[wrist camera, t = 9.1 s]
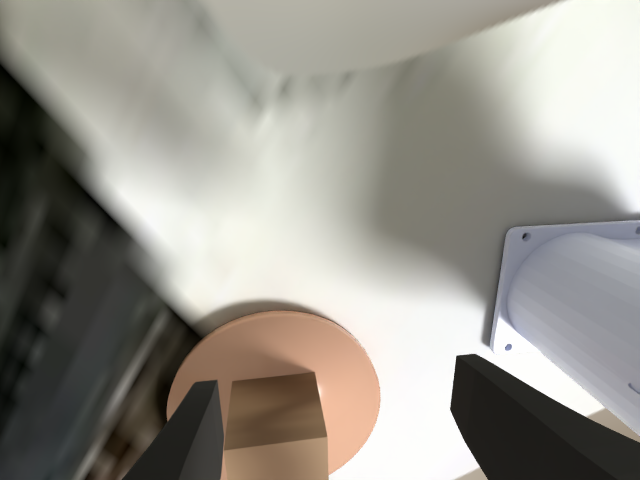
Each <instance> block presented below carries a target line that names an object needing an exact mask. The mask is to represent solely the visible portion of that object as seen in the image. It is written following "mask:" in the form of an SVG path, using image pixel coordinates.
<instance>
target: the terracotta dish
mask: <svg viewBox="0 0 640 480" xmlns="http://www.w3.org/2000/svg"><path fill="white" fill-rule="evenodd" d="M311 372H315V375H316V380H317V385H318V390H319V396H320V401H321V406H322V411H323V416H324V421H325V426H326V431H327V436H328V475H330V474H331V473H333V472H334V471H336V470H337V469H339V468H341V467H342V466H343V465H344V464H346V463H347V462H348V461H349V460H350V459H351V458H352V457H353V456H354V455H355V454H356V453H357V452H358V451H359V450H360V449H361V447H362V446H363V445H364V444H365V442H366V441H367V439H368V437H369V436H370V434H371V432H372V430H373V428H374V426H375V423H376V421H377V417H378V413H379V408H380V387H379V382H378V377H377V375H376V372H375V369H374V367H373V364H372V362H371V360H370V358H369V356H368V354H367V353H366V351H365V349H364V348H363V347H362V346H361V344H360V343H359V342H358V340H356V339H355V338H354V337H353V336H352V335H351V334H350V333H349V332H348V331H346V330H345V329H343V328H342V327H340V326H339V325H337V324H335V323H333V322H331V321H329V320H327V319H325V318H322V317H319V316H316V315H313V314H308V313H304V312H297V311H287V310H285V311H267V312H259V313H255V314H251V315H247V316H243V317H240V318H238V319H235V320H233V321H230V322H228V323H226V324H224V325H222V326H220V327H218V328H217V329H215V330H214V331H212V332H211V333H209V334H208V335H207V336H205V337H204V338H203V339H202V340H201V341H199V342H198V343H197V344H196V345H195V346H194V347H193V348H192V350H191V351H190V352H189V353H188V354H187V356H186V357H185V359H184V360H183V362H182V363H181V365H180V367H179V369H178V371H177V373H176V376H175V378H174V381H173V383H172V386H171V389H170V393H169V397H168V402H167V422H168V420H169V419H170V418H171V416H172V415H173V413H174V412H175V410H176V409H177V407H178V406H179V404H180V403H181V402H182V400H183V399H184V397H185V395H186V394H187V392H188V391H189V389H190V388H191V386H192V385H193V384H194V383H195V382H199V381H209V380H218V388H219V397H220V405H221V414H222V422H223V431H224V443H225V435H226V427H227V419H228V411H229V403H230V395H231V387H232V381H237V380H247V379H256V378H265V377H274V376H283V375H292V374H301V373H311ZM220 480H227V473H226V465H225V458H224V446H223V460H222V472H221V479H220Z"/></svg>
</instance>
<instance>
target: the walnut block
mask: <svg viewBox="0 0 640 480" xmlns="http://www.w3.org/2000/svg"><path fill="white" fill-rule="evenodd" d="M224 458H225V465H226V473H227V480H328V436H327V431H326V426H325V421H324V416H323V411H322V406H321V401H320V396H319V390H318V385H317V380H316V375H315V372H311V373H301V374H292V375H283V376H274V377H265V378H256V379H247V380H237V381H232V387H231V395H230V403H229V411H228V419H227V427H226V435H225V443H224Z"/></svg>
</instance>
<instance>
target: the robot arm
mask: <svg viewBox="0 0 640 480" xmlns="http://www.w3.org/2000/svg"><path fill="white" fill-rule="evenodd" d="M636 228H637V230H636ZM635 230H636V231H635ZM524 233H526V237H525V238H524V239H522V236H523V234H524ZM506 344H508V345H507V346H506V347H505V345H506ZM490 349H491V351H492V352H493V353H495V354H497V355H501V354H510V353H520V352H530V351H540V352H541V353H542V354H543V355H544V356H546V357H547V358H548V359H549V360H550V361H552V362H553V363H554V364H555V365H556V366H557V367H559V368H560V369H561V370H562V371H563V372H565V373H566V374H567V375H568V376H569V377H570V378H572V379H573V380H574V381H575V382H576V383H577V384H579V385H580V386H581V387H582V388H583V389H585V390H586V391H587V392H588V393H589V394H590V395H592V396H593V397H594V398H595V399H596V400H598V401H599V402H600V403H601V404H602V405H603V406H605V407H606V408H607V409H608V410H609V411H610V412H612V413H613V414H614V415H615V416H616V417H618V418H619V419H620V420H621V421H622V422H623V423H625V424H626V425H627V426H628V427H629V428H631V429H632V430H633V431H634V432H635V433H636V434H638V435H639V436H640V220H630V221H612V222H594V223H576V224H558V225H539V226H521V227H513V228H511V229H509V231H508V232H507V234H506V238H505V245H504V252H503V258H502V265H501V272H500V279H499V286H498V292H497V299H496V306H495V313H494V319H493V326H492V333H491V340H490ZM450 410H451V413H452V415H453V417H454V419H455V422H456V424H457V426H458V428H459V430H460V432H461V434H462V437H463V439H464V441H465V443H466V444H467V446H468V448H469V449H470V451H471V453H472V454H473V456H474V458H475V459H476V461H477V462H478V464H479V466H480V467H481V469H482V471H483V472H484V474H485V475H486V477H487V479H488V480H640V443H639V442H637V441H635V440H633V439H630V438H628V437H626V436H624V435H622V434H620V433H617V432H615V431H613V430H611V429H609V428H607V427H605V426H603V425H601V424H599V423H596V422H594V421H592V420H590V419H588V418H587V417H585V416H583V415H581V414H579V413H577V412H575V411H574V410H572V409H570V408H568V407H566V406H564V405H562V404H561V403H559V402H557V401H555V400H553V399H552V398H550V397H548V396H546V395H545V394H543V393H541V392H539V391H538V390H536V389H534V388H533V387H531V386H529V385H528V384H526V383H524V382H523V381H521V380H519V379H518V378H516V377H514V376H513V375H511V374H509V373H508V372H506V371H504V370H503V369H501V368H499V367H498V366H496V365H494V364H493V363H491V362H489V361H487V360H486V359H484V358H482V357H480V356H478V355H476V354H469V355H459V356H456V364H455V373H454V381H453V390H452V399H451V407H450ZM223 446H224V431H223V422H222V414H221V405H220V397H219V388H218V380H209V381H199V382H195V383H194V384H193V385H192V386H191V388H190V389H189V391H188V392H187V394H186V395H185V397H184V399H183V400H182V402H181V403H180V404H179V406H178V407H177V409H176V410H175V412H174V413H173V415H172V416H171V418H170V419H169V420H168V422H167V423H166V424H165V426H164V427H163V428H162V430H161V431H160V433H159V434H158V435H157V437H156V438H155V439H154V441H153V442H152V443H151V445H150V446H149V447H148V448H147V450H146V451H145V452H144V453H143V455H142V456H141V457H140V458H139V459H138V461H137V462H136V463H135V464H134V466H133V467H132V468H131V469H130V470H129V472H128V473H127V474H126V475H125V476H124V478H123V479H122V480H220V479H221V472H222V460H223Z"/></svg>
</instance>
